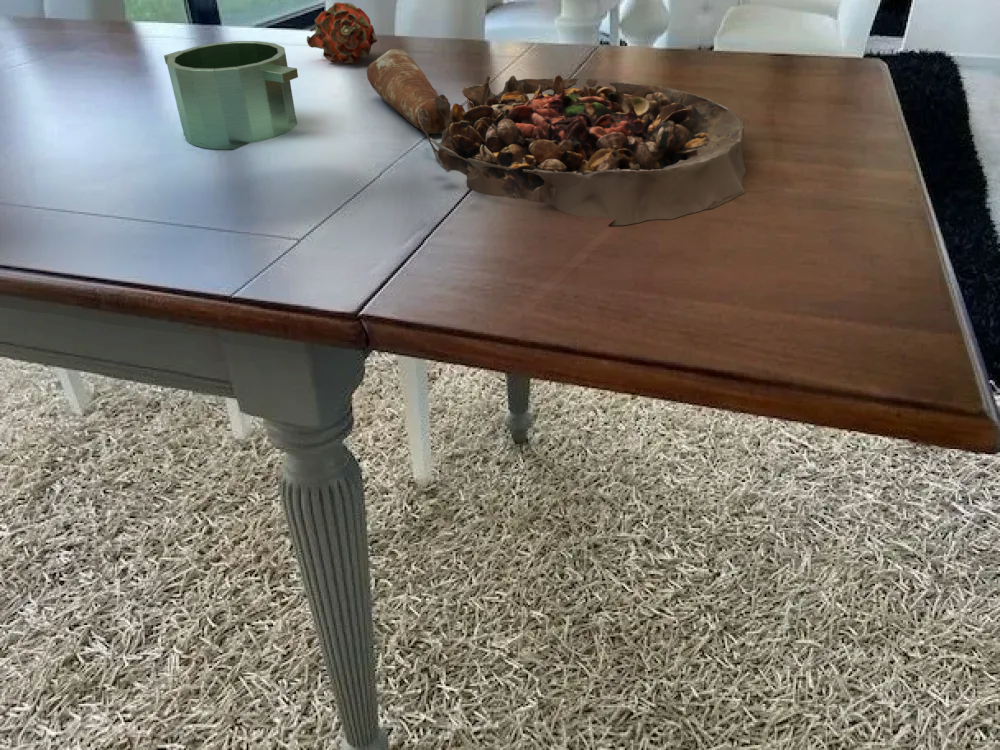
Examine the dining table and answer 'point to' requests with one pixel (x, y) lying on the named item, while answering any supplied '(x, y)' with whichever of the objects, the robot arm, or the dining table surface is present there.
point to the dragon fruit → (343, 33)
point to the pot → (232, 93)
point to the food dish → (594, 148)
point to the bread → (405, 88)
